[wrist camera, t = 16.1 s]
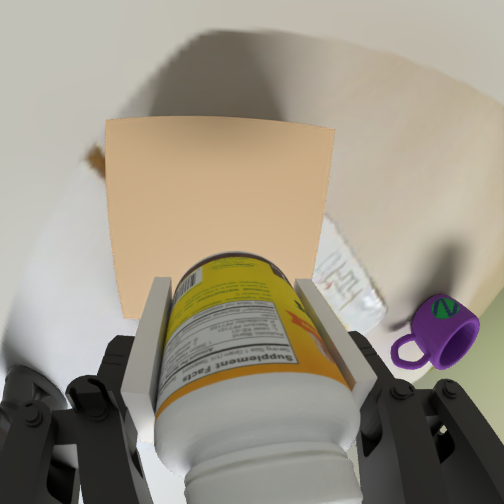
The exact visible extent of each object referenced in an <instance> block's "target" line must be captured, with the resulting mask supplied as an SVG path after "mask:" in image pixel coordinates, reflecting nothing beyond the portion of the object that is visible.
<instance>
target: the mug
mask: <svg viewBox="0 0 504 504" xmlns="http://www.w3.org/2000/svg"><path fill="white" fill-rule="evenodd" d="M479 327H480V323H479V319H478V318H477V316H476V315H474V314H473V313H472V312H471V311H470V310H468V309H467V308H466V307H465V306H463V305H462V304H460V303H459V302H458V301H456V300H455V299H453V298H451V297H449V296H447V295H443V294H439V295H435V296H433V297H431V298H430V299H428V300H427V301H425V302H424V303H423V304H422V305H421V307H420V308H419V309H418V311H417V312H416V314H415V316H414V318H413V321H412V324H411V334H407V335H405V336H403V337H401V338H399V339H398V340H396V341H395V343H394V344H393V345H392V347H391V359H392V361H393V363H394V364H395V365H396V366H398V367H400V368H403V369H411V370H414V369H418V368H421V367H422V366H424V365H425V364H426V363H427V362H428V361H430V362H431V363H432V365H433V366H434V367H435V368H436V369H439V370H444V369H447V368H449V367H451V366H452V365H454V364H455V363H457V362H458V361H459V360H460V359H461V358H462V357H463V356H464V355H465V354H466V353H467V351H468V350H469V349H470V347H471V346H472V344H473V343H474V341H475V339H476V337H477V334H478V332H479ZM413 340H415V342H416V344H417V345H418V347H419V348H420V349H421V351H422V352H423V353H424V356H423V357H422V358H421V359H419V360H418V361H415V362H410V361H405V360H402V359H400V358H399V355H398V348H399V347H400V346H401V345H403V344H405V343H407V342H409V341H413Z"/></svg>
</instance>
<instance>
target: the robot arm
mask: <svg viewBox="0 0 504 504" xmlns="http://www.w3.org/2000/svg"><path fill="white" fill-rule="evenodd" d="M293 289H294V291H295V292H296V294H297V296H298V298H299V299H300V301H301V303H302V304H303V306H304V308H305V310H306V312H307V313H308V315H309V316H310V318H311V320H312V322H313V324H314V326H315V327H316V329H317V331H318V333H319V335H320V336H321V338H322V340H323V341H324V343H325V345H326V347H327V349H328V351H329V352H330V354H331V356H332V358H333V359H334V361H335V363H336V365H337V367H338V368H339V370H340V372H341V374H342V375H343V377H344V379H345V381H346V383H347V385H348V386H349V388H350V390H351V392H352V394H353V396H354V398H355V400H356V402H357V404H358V407H359V410H360V427H359V431H358V433H357V436H356V438H355V440H354V441H353V443H352V444H351V446H352V445H353V444H354V442H355V441H356V443H357V444H356V446H357V452H358V461H359V473H360V485H361V491H362V494H363V500H362V504H504V445H503V444H502V442H501V441H500V439H499V438H498V436H497V435H496V433H495V432H494V430H493V429H492V427H491V426H490V425H489V423H488V422H487V420H486V419H485V418H484V416H483V415H482V414H481V412H480V411H479V410H478V408H477V407H476V405H475V404H474V403H473V401H472V400H471V399H470V397H469V396H468V395H467V393H466V392H465V391H464V389H463V388H462V387H461V386H460V385H459V384H458V383H457V382H455V381H453V380H450V379H441V380H439V381H438V382H437V383H436V385H435V386H434V388H433V389H415V388H414V386H413V385H412V384H410V383H409V382H407V381H405V380H403V379H395V378H394V376H393V375H392V373H391V372H390V371H389V369H388V368H387V366H386V365H385V363H384V362H383V361H382V359H381V358H380V357H379V355H377V352H376V351H375V350H374V348H372V345H371V344H370V343H369V341H368V340H367V339H366V338H365V337H364V336H363V335H361V334H360V333H359V332H357V331H350V332H347V331H346V329H345V328H344V326H343V325H342V323H341V322H340V320H339V319H338V318H337V316H336V315H335V313H334V312H333V310H332V309H331V307H330V306H329V304H328V303H327V302H326V300H325V299H324V297H323V296H322V294H321V293H320V292H319V290H318V289H317V287H316V286H315V284H314V283H313V282H312V280H311V279H295V282H294V288H293ZM172 300H173V297H172V277H154V280H153V283H152V286H151V289H150V292H149V295H148V298H147V301H146V304H145V307H144V310H143V313H142V316H141V319H140V323H139V326H138V329H137V332H136V336H122V335H117V336H116V337H115V338H114V339H113V340H112V341H110V342H109V343H108V346H107V349H106V351H105V356H103V359H102V364H101V365H100V367H99V370H98V373H97V376H96V375H85V376H80V377H78V378H76V379H74V380H73V381H72V382H71V383H70V384H69V385H68V386H67V389H66V392H65V395H66V397H67V399H68V401H69V402H70V404H71V406H72V409H67V402H66V400H65V398H64V396H63V395H62V394H61V392H60V391H59V390H58V389H57V388H56V387H55V386H54V385H53V384H52V383H51V382H50V381H48V380H47V379H46V378H45V377H43V376H42V375H40V374H39V373H37V372H35V371H33V370H31V369H29V368H27V367H24V366H18V365H16V366H12V367H11V368H10V370H9V371H8V373H7V375H6V378H5V386H4V391H3V398H2V401H1V404H0V504H78V500H79V491H80V484H81V491H82V497H83V503H84V504H153V501H152V497H151V495H150V491H149V488H148V484H147V481H146V478H145V474H144V471H143V467H142V463H141V459H140V455H139V452H138V450H137V448H136V443H137V435H138V437H139V439H140V442H146V443H154V422H155V413H156V403H157V396H158V387H159V379H160V372H161V364H162V358H163V351H164V344H165V338H166V332H167V327H168V321H169V316H170V311H171V306H172ZM443 425H445V427H446V428H447V431H446V432H445V433H441V432H440V429H441V427H442V426H443ZM351 446H350V447H351Z"/></svg>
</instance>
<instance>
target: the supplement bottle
mask: <svg viewBox="0 0 504 504" xmlns="http://www.w3.org/2000/svg"><path fill="white" fill-rule="evenodd" d="M359 427H360V410H359V407H358V404H357V402H356V400H355V398H354V396H353V394H352V392H351V390H350V388H349V386H348V385H347V383H346V381H345V379H344V377H343V375H342V374H341V372H340V370H339V368H338V367H337V365H336V363H335V361H334V359H333V358H332V356H331V354H330V352H329V351H328V349H327V347H326V345H325V343H324V341H323V340H322V338H321V336H320V335H319V333H318V331H317V329H316V327H315V326H314V324H313V322H312V320H311V318H310V316H309V315H308V313H307V312H306V310H305V308H304V306H303V304H302V303H301V301H300V299H299V298H298V296H297V294H296V292H295V291H294V289H293V287H292V285H291V284H290V282H289V280H288V279H287V277H286V276H285V274H284V273H283V272H282V271H281V270H280V269H279V268H278V267H277V266H276V265H275V264H274V263H273V262H271V261H270V260H268V259H266V258H264V257H262V256H260V255H257V254H254V253H250V252H244V251H226V252H220V253H216V254H213V255H210V256H208V257H206V258H204V259H202V260H200V261H198V262H197V263H196V264H194V265H193V266H192V267H191V268H189V269H188V271H187V272H186V273H185V274H184V275H183V276H182V278H181V279H180V281H179V283H178V285H177V287H176V290H175V293H174V296H173V300H172V306H171V311H170V316H169V321H168V327H167V332H166V338H165V344H164V351H163V358H162V364H161V372H160V379H159V387H158V396H157V403H156V413H155V422H154V446H155V450H156V453H157V455H158V457H159V459H160V460H161V462H162V463H163V464H164V466H165V467H166V468H167V469H169V470H170V471H171V472H172V473H174V474H175V475H177V476H178V477H180V478H182V479H184V483H185V487H186V488H185V491H184V495H185V497H186V501H187V504H360V503H361V502H362V500H363V494H362V491H361V489H360V486H359V483H358V481H357V478H356V476H355V473H354V470H353V468H354V466H353V463H352V461H351V460H350V459H348V457H347V454H346V451H347V449H348V448H349V447H350V446H351V444H352V443H353V441H354V440H355V438H356V436H357V433H358V431H359Z"/></svg>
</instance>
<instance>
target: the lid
mask: <svg viewBox="0 0 504 504" xmlns="http://www.w3.org/2000/svg"><path fill="white" fill-rule="evenodd" d="M334 134H335V129H331V128H325V127H319V126H312V125H306V124H299V123H291V122H283V121H274V120H264V119H253V118H239V117H220V116H152V117H134V118H120V119H110V120H106V137H105V163H106V191H107V206H108V218H109V229H110V238H111V246H112V254H113V261H114V268H115V274H116V281H117V286H118V292H119V297H120V302H121V307H122V312H123V317H124V318H127V319H141V316H142V313H143V310H144V307H145V304H146V301H147V298H148V295H149V292H150V289H151V286H152V283H153V280H154V277H172V297H173V296H174V293H175V290H176V287H177V285H178V283H179V281H180V279H181V278H182V276H183V275H184V274H185V273H186V272H187V271H188V269H189V268H191V267H192V266H193V265H194V264H196V263H197V262H198V261H200V260H202V259H204V258H206V257H208V256H210V255H213V254H216V253H220V252H226V251H244V252H250V253H254V254H257V255H260V256H262V257H264V258H266V259H268V260H270V261H271V262H273V263H274V264H275V265H276V266H277V267H278V268H279V269H280V270H281V271H282V272H283V273H284V274H285V276H286V277H287V279H288V280H289V282H290V284H291V285H292V287H293V288H294V282H295V279H311V280H312V276H313V271H314V266H315V261H316V255H317V250H318V244H319V239H320V233H321V227H322V221H323V215H324V209H325V202H326V196H327V189H328V182H329V174H330V167H331V159H332V151H333V142H334Z"/></svg>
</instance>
